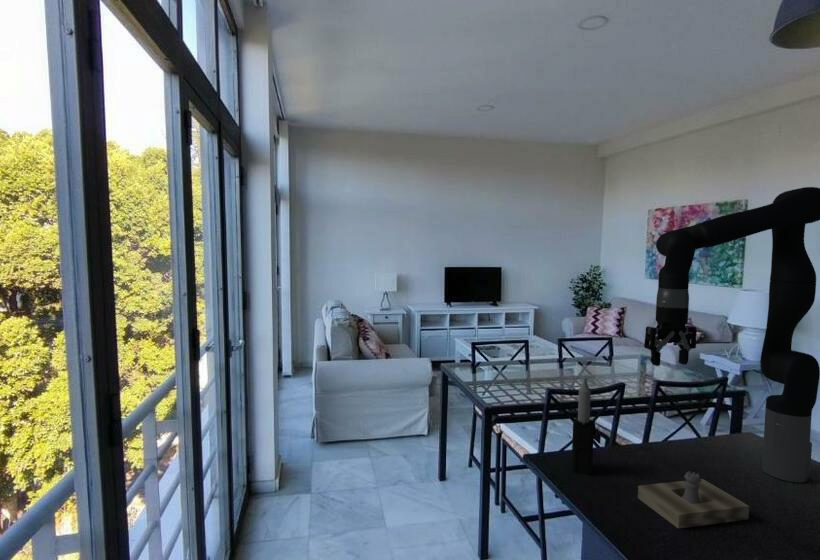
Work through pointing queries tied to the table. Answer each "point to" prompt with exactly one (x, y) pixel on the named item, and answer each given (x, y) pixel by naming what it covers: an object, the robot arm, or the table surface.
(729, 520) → the socket board
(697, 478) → the rook chess piece
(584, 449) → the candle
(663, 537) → the table surface
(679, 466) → the table surface
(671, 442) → the table surface
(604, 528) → the table surface
